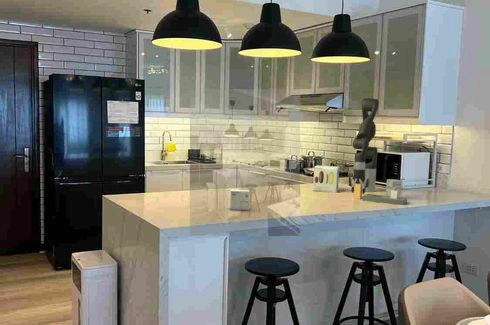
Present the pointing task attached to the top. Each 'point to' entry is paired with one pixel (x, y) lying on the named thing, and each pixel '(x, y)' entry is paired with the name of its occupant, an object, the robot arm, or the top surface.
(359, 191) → the orange plug
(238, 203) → the light bulb box
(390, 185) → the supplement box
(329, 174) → the supplement box
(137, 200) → the top surface
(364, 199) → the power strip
